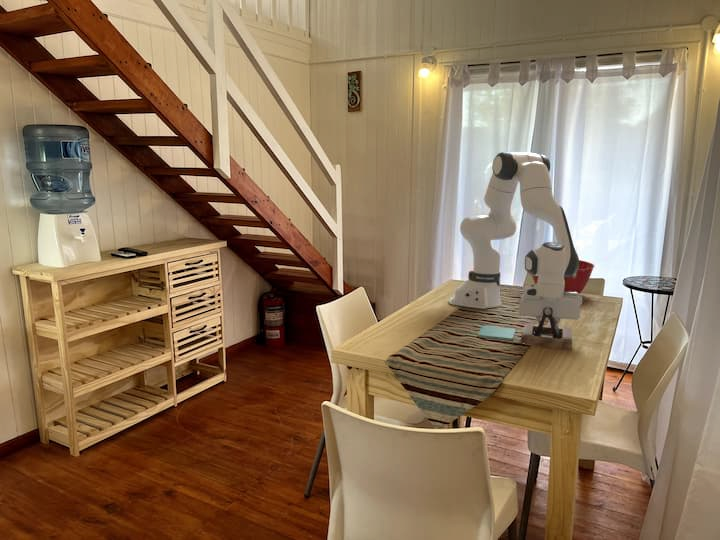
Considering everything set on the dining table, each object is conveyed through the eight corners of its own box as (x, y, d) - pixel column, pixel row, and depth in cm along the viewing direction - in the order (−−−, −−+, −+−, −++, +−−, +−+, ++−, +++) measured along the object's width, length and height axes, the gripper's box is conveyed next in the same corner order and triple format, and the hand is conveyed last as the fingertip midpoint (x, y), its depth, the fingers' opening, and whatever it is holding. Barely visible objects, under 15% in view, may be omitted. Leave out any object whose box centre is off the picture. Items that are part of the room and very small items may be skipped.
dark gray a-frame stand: (561, 338, 189) (564, 305, 187) (559, 343, 184) (561, 309, 182) (535, 334, 193) (537, 302, 191) (532, 339, 188) (534, 306, 186)
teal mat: (477, 336, 191) (477, 334, 191) (482, 327, 202) (482, 325, 202) (512, 340, 187) (512, 338, 187) (515, 330, 198) (515, 328, 198)
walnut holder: (521, 344, 183) (521, 337, 183) (524, 329, 200) (525, 322, 199) (571, 349, 178) (572, 342, 177) (571, 334, 194) (571, 327, 194)
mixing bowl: (587, 306, 233) (590, 271, 230) (520, 298, 247) (522, 264, 244) (595, 292, 257) (597, 261, 254) (533, 286, 271) (535, 255, 268)
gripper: (582, 290, 185) (579, 329, 187) (520, 286, 192) (518, 323, 194) (583, 294, 179) (579, 335, 182) (519, 289, 186) (516, 328, 189)
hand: (547, 329), depth 188 cm, fingers closed on dark gray a-frame stand, 3 cm apart
